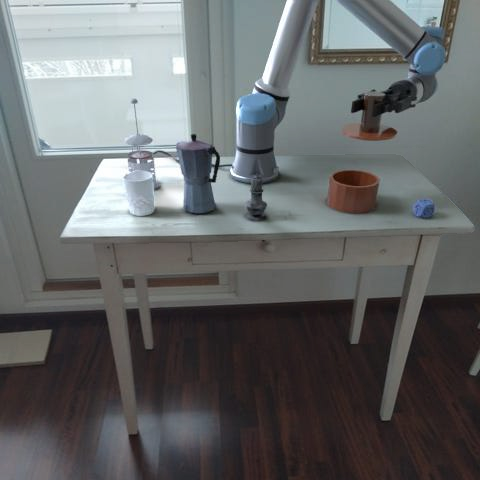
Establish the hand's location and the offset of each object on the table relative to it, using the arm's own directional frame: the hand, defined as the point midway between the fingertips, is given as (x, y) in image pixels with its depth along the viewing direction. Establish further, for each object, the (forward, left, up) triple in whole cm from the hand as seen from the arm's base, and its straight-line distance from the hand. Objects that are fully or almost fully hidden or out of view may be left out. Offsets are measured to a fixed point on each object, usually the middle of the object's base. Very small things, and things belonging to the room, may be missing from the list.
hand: (363, 109), depth 122 cm
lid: (0, +5, -7) cm, 9 cm away
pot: (0, +2, -26) cm, 26 cm away
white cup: (-41, -41, -26) cm, 64 cm away
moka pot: (-30, -29, -26) cm, 50 cm away
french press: (-56, -28, -26) cm, 68 cm away
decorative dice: (+19, +8, -26) cm, 33 cm away
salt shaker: (-15, -23, -26) cm, 38 cm away
